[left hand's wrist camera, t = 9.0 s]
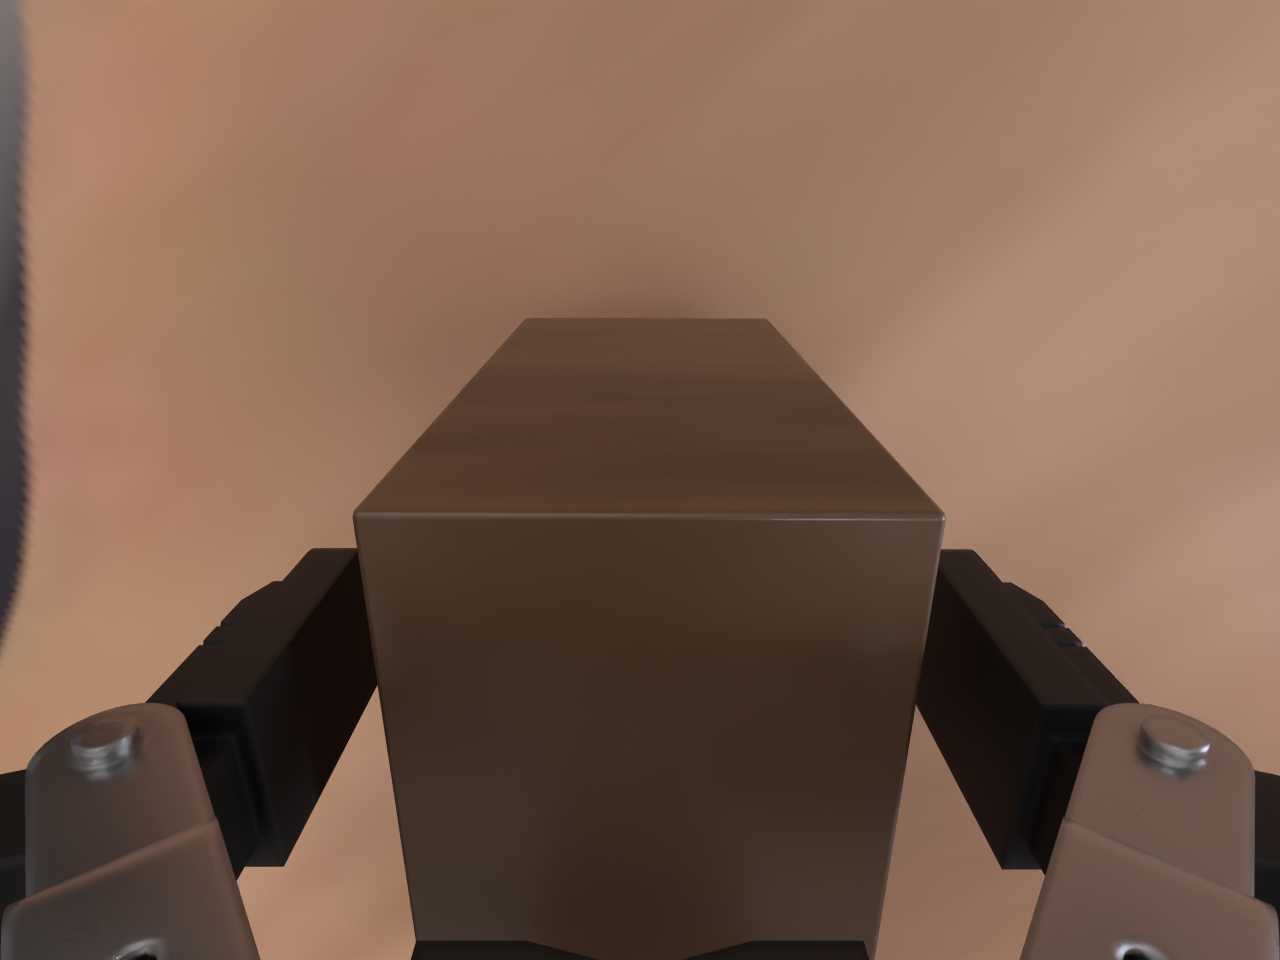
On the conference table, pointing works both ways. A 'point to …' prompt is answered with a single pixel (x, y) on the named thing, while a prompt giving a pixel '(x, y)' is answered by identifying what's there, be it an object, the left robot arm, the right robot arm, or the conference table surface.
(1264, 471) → the conference table surface
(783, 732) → the box
